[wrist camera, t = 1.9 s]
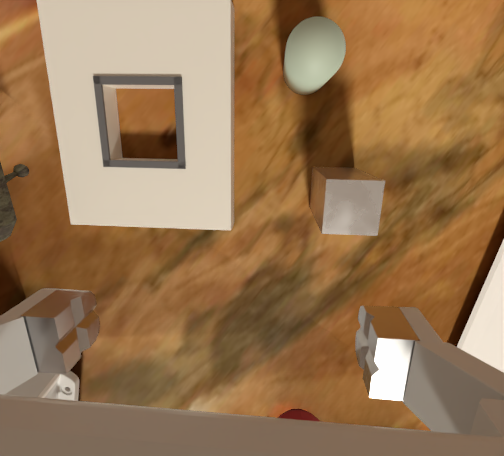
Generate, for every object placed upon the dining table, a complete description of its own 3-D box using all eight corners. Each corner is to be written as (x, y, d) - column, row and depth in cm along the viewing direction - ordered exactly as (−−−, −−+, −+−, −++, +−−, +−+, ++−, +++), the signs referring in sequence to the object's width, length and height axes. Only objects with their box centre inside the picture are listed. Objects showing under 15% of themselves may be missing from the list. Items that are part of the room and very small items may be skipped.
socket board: (234, 223, 41) (230, 231, 38) (84, 218, 42) (69, 224, 39) (234, 8, 34) (230, -4, 31) (55, 9, 35) (34, -3, 32)
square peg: (349, 208, 39) (377, 235, 29) (309, 207, 40) (321, 233, 29) (354, 167, 38) (385, 180, 27) (312, 166, 38) (326, 179, 28)
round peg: (326, 95, 36) (342, 83, 27) (282, 94, 36) (284, 82, 28) (330, 45, 34) (348, 16, 26) (284, 45, 35) (287, 16, 26)
